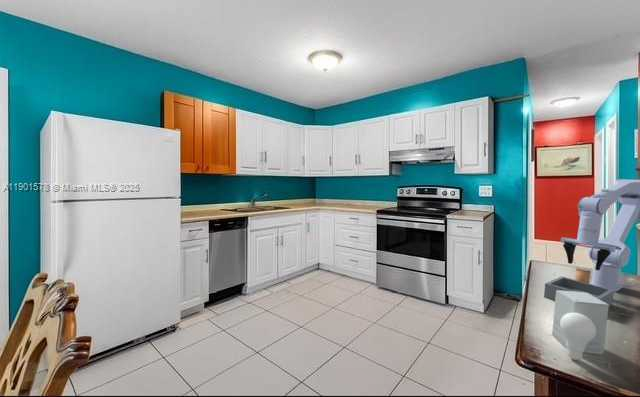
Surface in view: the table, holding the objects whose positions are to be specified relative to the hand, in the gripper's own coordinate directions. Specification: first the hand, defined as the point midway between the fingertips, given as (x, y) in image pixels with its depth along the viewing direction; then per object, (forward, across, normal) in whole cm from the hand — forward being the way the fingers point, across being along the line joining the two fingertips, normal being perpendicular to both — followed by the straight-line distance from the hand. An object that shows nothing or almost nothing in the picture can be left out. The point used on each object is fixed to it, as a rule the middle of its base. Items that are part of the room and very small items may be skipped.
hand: (583, 266), depth 104 cm
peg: (+10, 0, +1) cm, 10 cm away
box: (+10, +3, -11) cm, 15 cm away
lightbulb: (+13, +14, -52) cm, 55 cm away
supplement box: (+13, +12, -44) cm, 47 cm away
